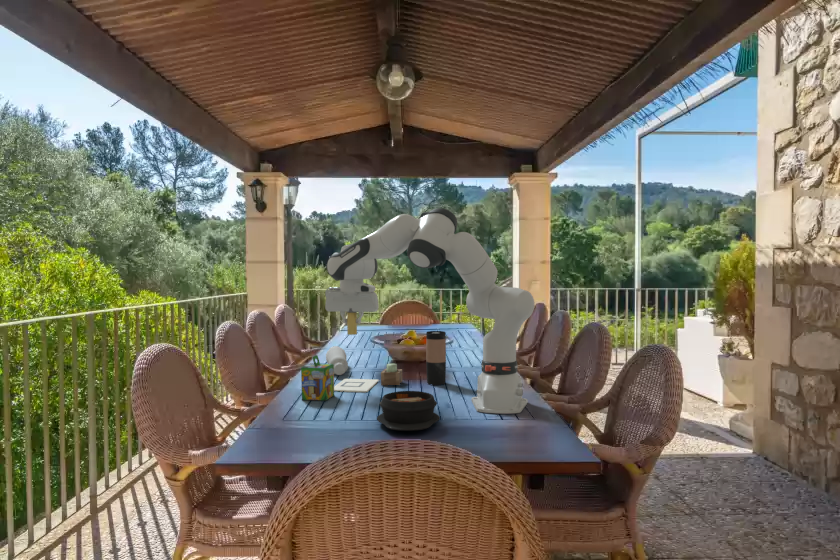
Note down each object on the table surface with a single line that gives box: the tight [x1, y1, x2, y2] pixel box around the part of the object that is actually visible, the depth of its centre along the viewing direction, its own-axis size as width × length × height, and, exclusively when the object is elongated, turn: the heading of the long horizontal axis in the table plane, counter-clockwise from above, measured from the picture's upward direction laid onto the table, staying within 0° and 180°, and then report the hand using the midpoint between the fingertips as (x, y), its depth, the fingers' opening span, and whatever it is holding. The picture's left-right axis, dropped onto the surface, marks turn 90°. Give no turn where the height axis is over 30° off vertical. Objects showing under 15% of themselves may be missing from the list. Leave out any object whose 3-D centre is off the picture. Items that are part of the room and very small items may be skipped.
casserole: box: [376, 390, 441, 432], centre depth 176 cm, size 25×19×8 cm
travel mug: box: [425, 330, 447, 386], centre depth 232 cm, size 8×8×20 cm
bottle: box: [325, 345, 349, 376], centre depth 257 cm, size 9×9×30 cm
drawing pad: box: [334, 378, 380, 393], centre depth 228 cm, size 20×14×1 cm
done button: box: [386, 363, 398, 372], centre depth 231 cm, size 4×4×6 cm
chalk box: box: [300, 354, 335, 402], centre depth 209 cm, size 9×9×15 cm
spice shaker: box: [346, 308, 358, 336], centre depth 227 cm, size 4×4×10 cm
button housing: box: [380, 368, 403, 386], centre depth 232 cm, size 7×7×5 cm
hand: (352, 323), depth 227 cm, fingers closed on spice shaker, 4 cm apart
